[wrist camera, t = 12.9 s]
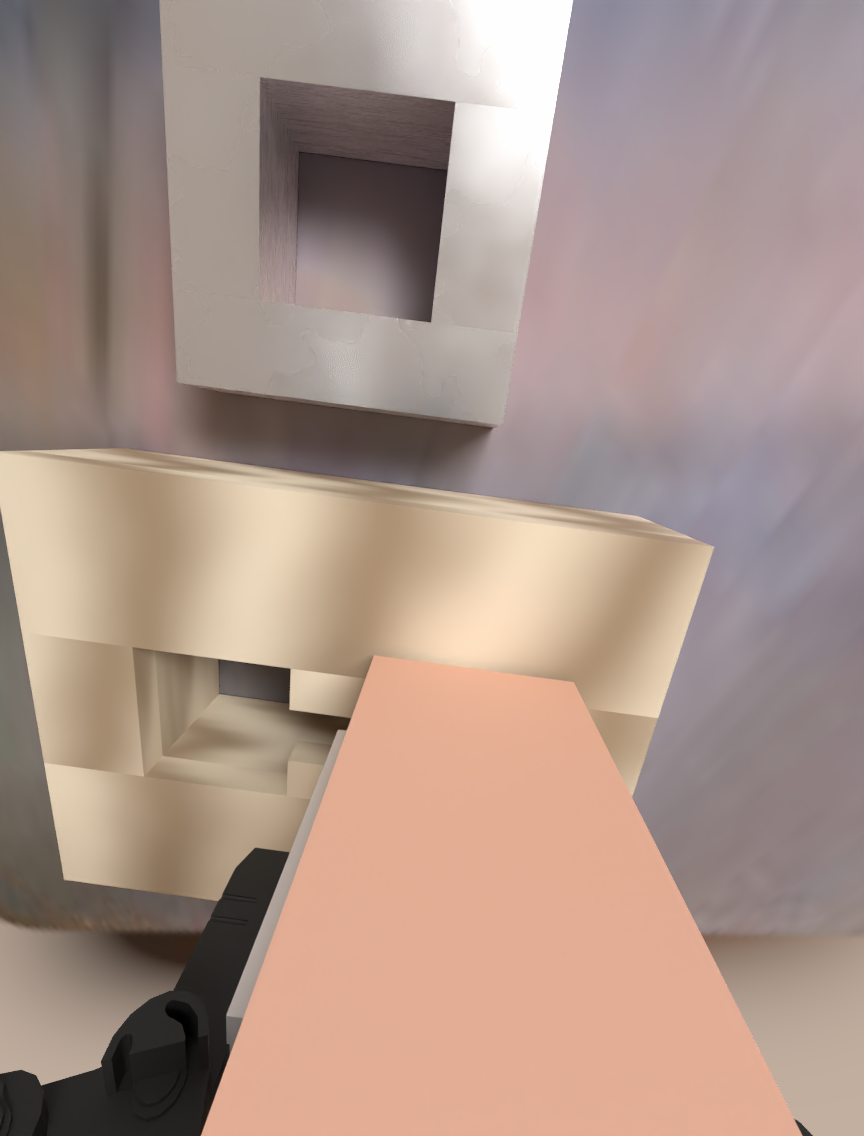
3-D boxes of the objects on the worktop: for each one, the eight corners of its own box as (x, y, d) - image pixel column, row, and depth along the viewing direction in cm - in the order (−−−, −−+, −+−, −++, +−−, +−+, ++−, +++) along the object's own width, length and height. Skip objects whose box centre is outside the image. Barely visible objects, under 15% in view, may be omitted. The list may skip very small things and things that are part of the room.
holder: (225, 392, 16) (177, 382, 13) (220, 39, 13) (155, -72, 10) (493, 428, 16) (502, 425, 13) (548, 80, 13) (576, -20, 10)
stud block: (371, 776, 17) (120, 1819, 4) (387, 618, 15) (0, 1694, 2) (517, 796, 17) (723, 1912, 4) (552, 641, 15) (1173, 1874, 2)
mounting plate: (151, 780, 21) (64, 879, 16) (124, 448, 16) (-9, 451, 12) (551, 835, 21) (581, 951, 16) (637, 515, 16) (714, 547, 12)
